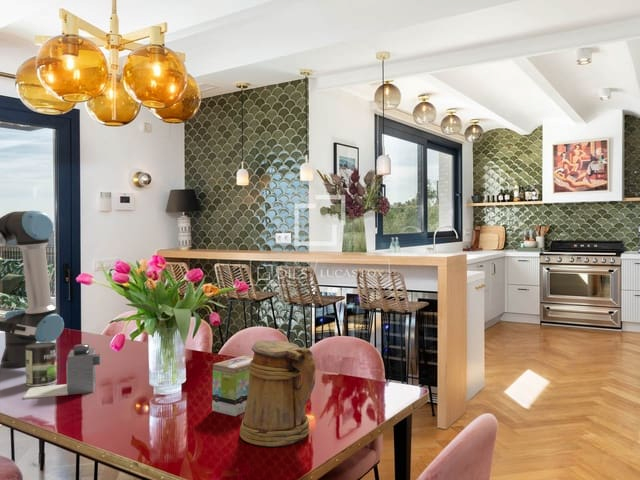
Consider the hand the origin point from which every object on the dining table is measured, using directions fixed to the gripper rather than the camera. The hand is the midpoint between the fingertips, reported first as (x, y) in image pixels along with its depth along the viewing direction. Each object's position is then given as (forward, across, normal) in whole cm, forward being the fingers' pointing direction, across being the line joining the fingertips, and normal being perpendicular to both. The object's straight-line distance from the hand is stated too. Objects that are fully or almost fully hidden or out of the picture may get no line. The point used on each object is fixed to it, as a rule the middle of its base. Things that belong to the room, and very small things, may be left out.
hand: (32, 331), depth 202 cm
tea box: (+55, +71, -15) cm, 91 cm away
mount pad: (+8, +17, -20) cm, 27 cm away
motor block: (+18, +20, -17) cm, 32 cm away
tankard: (+55, +99, -21) cm, 115 cm away
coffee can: (+8, +2, -18) cm, 19 cm away
